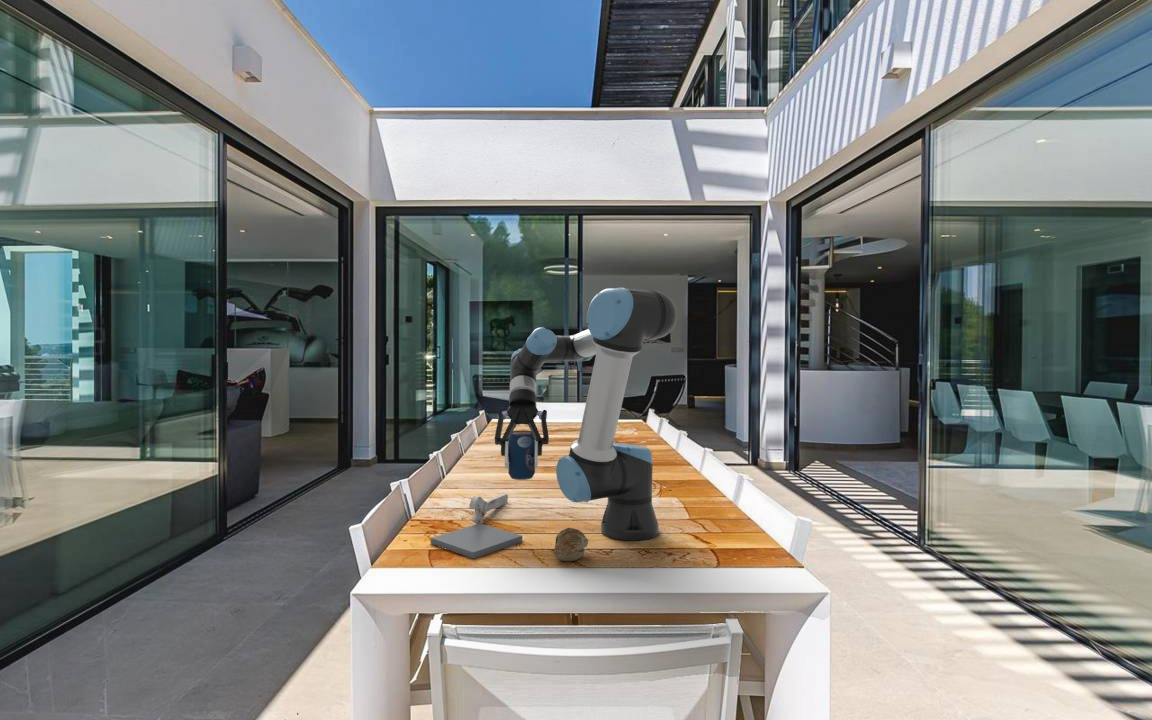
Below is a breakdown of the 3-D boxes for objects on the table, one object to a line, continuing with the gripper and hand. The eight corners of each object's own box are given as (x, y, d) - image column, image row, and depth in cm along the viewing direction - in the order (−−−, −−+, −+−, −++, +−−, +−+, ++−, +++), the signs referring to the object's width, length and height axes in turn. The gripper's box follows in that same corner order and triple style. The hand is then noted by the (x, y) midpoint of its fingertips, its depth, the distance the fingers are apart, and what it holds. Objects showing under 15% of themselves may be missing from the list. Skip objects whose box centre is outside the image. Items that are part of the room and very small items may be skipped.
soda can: (533, 480, 158) (533, 434, 158) (506, 480, 158) (506, 434, 158) (536, 474, 165) (536, 430, 164) (510, 474, 165) (510, 429, 165)
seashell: (590, 555, 146) (557, 550, 148) (593, 526, 146) (560, 521, 148) (582, 568, 137) (548, 562, 139) (585, 536, 137) (551, 531, 139)
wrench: (507, 511, 192) (474, 528, 163) (502, 511, 192) (468, 528, 164) (508, 485, 193) (475, 498, 164) (502, 485, 193) (469, 497, 164)
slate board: (522, 541, 154) (522, 535, 154) (473, 558, 142) (473, 552, 142) (479, 528, 165) (479, 523, 165) (430, 543, 152) (430, 537, 152)
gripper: (557, 403, 177) (559, 472, 161) (488, 404, 176) (483, 473, 160) (558, 387, 171) (560, 457, 156) (486, 387, 170) (481, 457, 155)
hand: (521, 465), depth 158 cm, fingers closed on soda can, 7 cm apart
